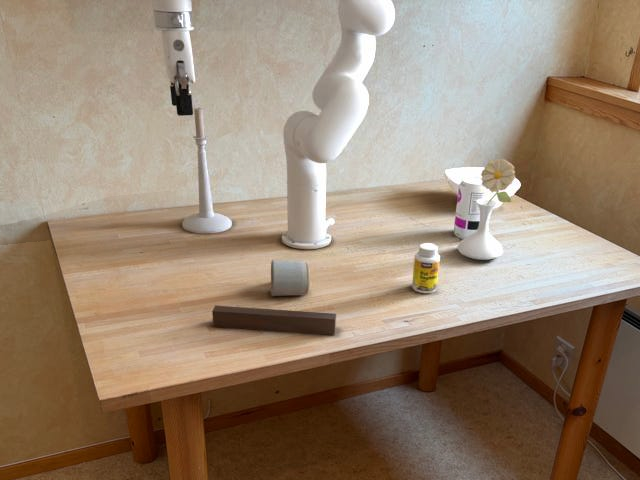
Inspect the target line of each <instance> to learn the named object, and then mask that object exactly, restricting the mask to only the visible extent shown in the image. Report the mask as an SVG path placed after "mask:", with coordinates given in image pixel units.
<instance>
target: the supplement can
mask: <svg viewBox="0 0 640 480" xmlns="http://www.w3.org/2000/svg"><path fill="white" fill-rule="evenodd" d="M482 182H483V181H482V180H481V177H464V178H463V179H462V181H461V183H460V184H459V190H458V196H457V199H456V207H455V214H454V215H455V217H454V225H453V234H455V236H456V237H457V238H458V239H461V240H463V239H464V238H466V237H468V236H469V235H471V234H473V233H474V232H476V231H477V229H478V227H479V221H480V210H479V206H478V204H477V202H476V201H477V200H479V199H490V197H489V196H488V195H487V194H485V193H484V192H482V191H481V189H483V190H484V191H486V192H487V193H488V194H489V195H490V191H489V189H486V188H485V187H483V185H482V184H481V183H482ZM479 186H480V188H481V189H480V188H479Z"/></svg>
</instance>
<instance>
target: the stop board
mask: <svg viewBox="0 0 640 480" xmlns="http://www.w3.org/2000/svg"><path fill="white" fill-rule="evenodd" d="M211 313H212V314H211V315H212V316H211V317H212V326H213V328H226V329H227V328H228V329H238V330H239V329H241V330H255V331H269V332H270V331H271V332H281V333H282V332H285V333H299V334H313V335H328V336H335V334H336V330H337V313H334V312H333V313H332V312H318V311H305V310H303V311H302V310H291V309H290V310H287V309H275V308H259V307H258V308H257V307H245V306H231V305H230V306H229V305H218V304H217V305H214V307H213V308H212V312H211Z"/></svg>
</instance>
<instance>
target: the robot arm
mask: <svg viewBox="0 0 640 480" xmlns="http://www.w3.org/2000/svg"><path fill="white" fill-rule="evenodd" d="M151 3H152V12H153V21H154V22H153V23H154V29H155V30H158V31H161V41H162V48H163V49H162V50H163V55H164V56H163V57H164V64H165V70H166V75H167V78H168V79H169V82H170V85H169V91H170V98H171V99H170V100H171V105H172V106H173V107H176V114H177V116H179V117H181V116H182V117H183V116H193V115H194V107H193V106H194V105H193V97H192V92H191V85H190V83H191V84H194V83H195V82H196V74H195V73H196V72H195V65H194V56H193V48H192V41H191V35H190V31H193V30H195V29H194V17H193V16H194V15H193V4H192V0H151ZM337 13H338V19H339V22H340V23H339V24H340V28H341V38H340V43H339V46H338V47H337V50H336V51H335V54H334V55H333V57H332V59H331V60H330V62H329V63H328V65H327V66H326V68H325V69H324V70H323V72H322V74H321V75H320V77H319V78H318V80H317V82H316V83H315V85H314V87H313V90H312V95H311V96H312V101H313V104H314V106H316V108H317V109H318V110H320V112H319V114H316V113H314V112H311V111H308V110H299V111H296V112H294V113H292V114H291V115H290V116H288V118H287V119H286V121H285V123H284V127H283V133H282V134H283V135H282V137H283V138H282V139H283V146H284V152H285V159H286V161H285V162H286V198H287V199H286V205H287V208H286V209H287V211H286V212H287V213H286V214H287V230H286V231H284V232H283V233H282V235H281V242H282V243H283V244H284V245H285V246H287V247H290V248H293V249H298V250H316V249H317V250H318V249H321V248H324V247H327V246H328V245H330V244H331V242H332V235H331V234H330V233H329V232H328V228H330V227H332V226H334V225H335V224H336V222H335V219H334V218H333V217H330V218H329V217H328V218H327V219H326V208H327V207H326V205H327V203H326V201H327V165H326V164H329V163H331V162H332V161H334V160H335V159H336V158H337V157H338V156H339V155H340V154H341V153H342V152H343V150H344V149H345V147H346V146H347V144H348V143H349V141H350V140H351V138H352V137H353V135H354V134H355V133H356V131H357V129H358V128H359V126H360V125H361V123H362V122H363V120H364V119H365V118H366V117H365V116H366V114H367V112H368V108H369V104H370V97H369V95H370V94H369V92H368V89H367V87H366V86H365V84H363V81H364V79H365V78H366V76H367V75H368V73H369V71H370V69H371V67H372V65H373V63H374V61H375V56H376V37H379V36H382V35H385V34H386V33H388V32H389V31H390V29H391V28H392V27H393V26H394V22H395V18H396V11H395V6H394V3H393V1H392V0H339V3H338V8H337Z"/></svg>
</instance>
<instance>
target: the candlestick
mask: <svg viewBox="0 0 640 480" xmlns="http://www.w3.org/2000/svg"><path fill="white" fill-rule="evenodd" d="M193 115H194V125H195V135H193V136H192V138H193V139H194V140H195V142H194V143H195V145H196V146H197V179H198V212H197V213H194V214H191V215H189V216H187V217H185V219H183V221H182V223H181V226H182V228H183V229H184V231H187V232H189V233H194V234H203V235H204V234H205V235H206V234H209V235H210V234H217V233H222V232H224V231H227V230H229V229H231V228H232V225H233V223H232V220H231V218H229V216H226V215H224V214H221V213H218V212H214V207H213V200H212V191H211V183H210V175H209V169H208V160H207V151H206V150H205V149H206V148H205V147H206V145H207V139H208V137H209V136H207V135H205V126H204V125H205V124H204V112H203V108H199V106H197V107H196V108H193Z"/></svg>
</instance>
